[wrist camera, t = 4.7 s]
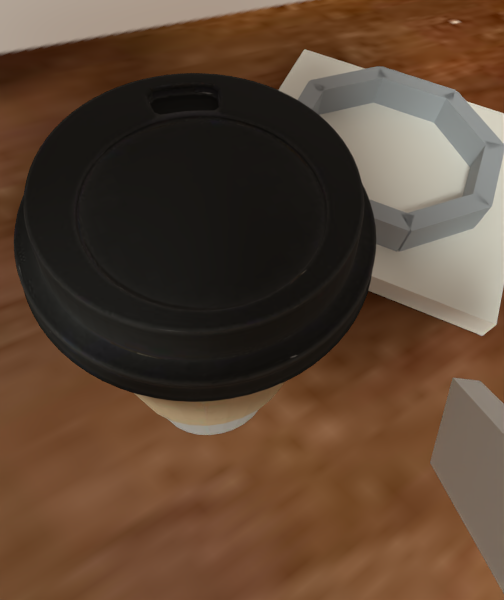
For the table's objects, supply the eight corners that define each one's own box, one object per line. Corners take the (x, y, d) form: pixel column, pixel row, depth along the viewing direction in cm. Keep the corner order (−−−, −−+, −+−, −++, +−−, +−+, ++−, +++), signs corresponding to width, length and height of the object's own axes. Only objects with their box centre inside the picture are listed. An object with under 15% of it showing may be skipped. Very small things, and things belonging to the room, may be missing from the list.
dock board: (202, 224, 28) (200, 186, 25) (301, 66, 37) (309, 23, 34) (482, 335, 26) (517, 308, 23) (521, 139, 34) (551, 99, 31)
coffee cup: (228, 274, 27) (236, 17, 14) (336, 397, 24) (481, 216, 11) (85, 365, 24) (-84, 142, 11) (187, 521, 20) (129, 482, 7)
